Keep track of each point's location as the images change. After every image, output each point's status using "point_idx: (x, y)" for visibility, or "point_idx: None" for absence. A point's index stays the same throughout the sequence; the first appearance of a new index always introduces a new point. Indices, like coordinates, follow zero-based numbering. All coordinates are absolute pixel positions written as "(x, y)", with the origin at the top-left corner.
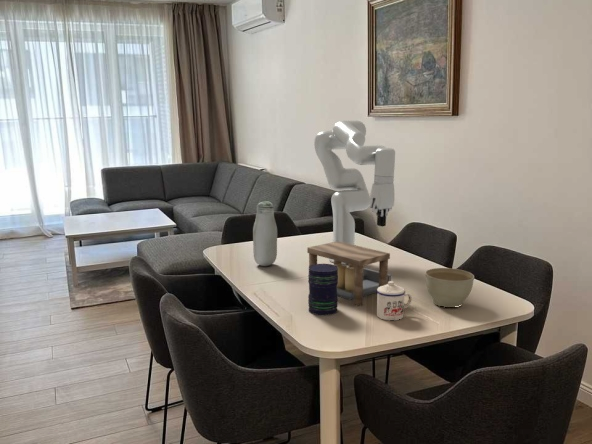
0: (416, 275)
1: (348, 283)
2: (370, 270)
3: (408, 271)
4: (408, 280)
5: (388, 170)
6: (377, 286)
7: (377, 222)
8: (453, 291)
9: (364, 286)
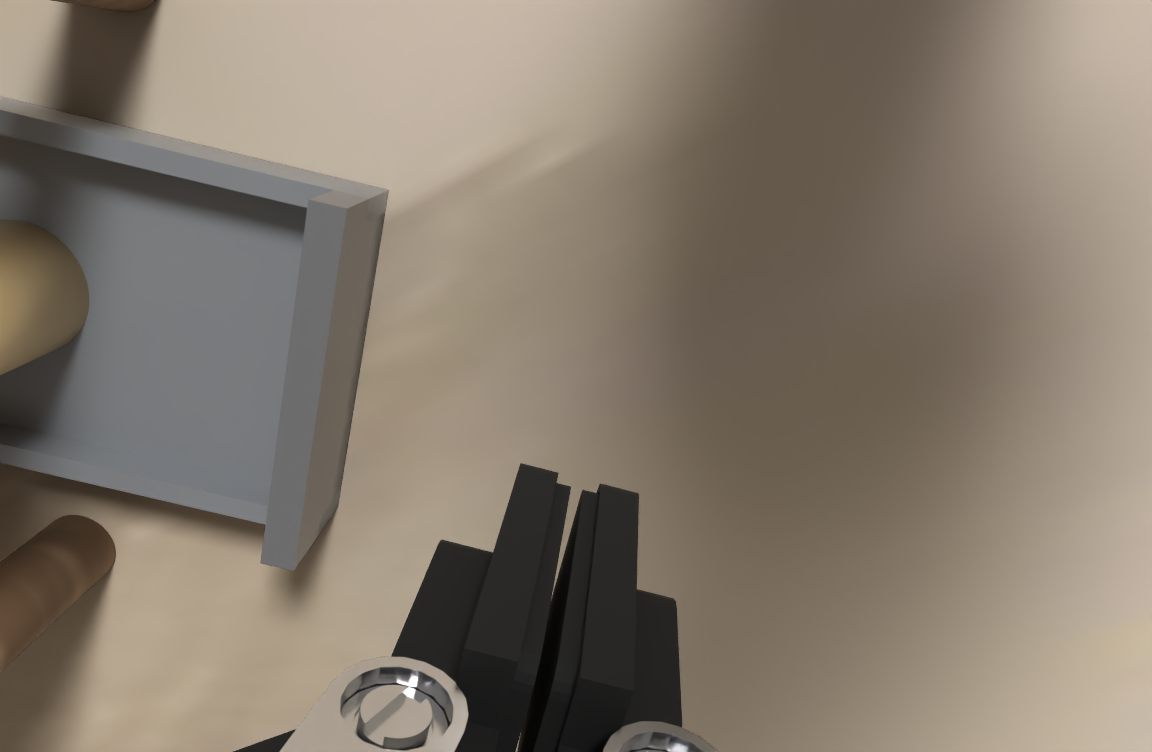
0: (858, 550)
1: None
2: (294, 316)
3: (969, 432)
4: (647, 549)
5: None
6: (119, 485)
7: (439, 548)
8: None
9: (121, 335)
